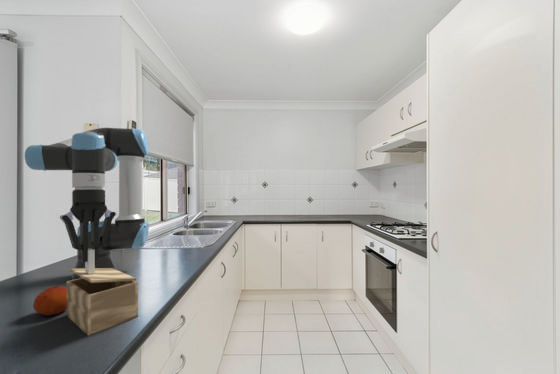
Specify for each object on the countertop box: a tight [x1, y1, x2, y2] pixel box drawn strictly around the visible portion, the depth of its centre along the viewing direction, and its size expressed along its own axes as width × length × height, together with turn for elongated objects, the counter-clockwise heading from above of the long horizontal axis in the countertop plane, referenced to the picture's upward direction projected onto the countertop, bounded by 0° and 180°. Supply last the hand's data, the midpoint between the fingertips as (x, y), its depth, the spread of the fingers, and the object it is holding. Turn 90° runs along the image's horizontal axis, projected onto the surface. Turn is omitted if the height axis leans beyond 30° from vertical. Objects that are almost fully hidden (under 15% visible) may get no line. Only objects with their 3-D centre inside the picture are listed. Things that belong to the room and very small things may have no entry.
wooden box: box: [66, 278, 139, 337], centre depth 76 cm, size 18×12×10 cm, turn 53°
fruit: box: [33, 285, 67, 316], centre depth 79 cm, size 9×9×8 cm
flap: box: [70, 268, 137, 283], centre depth 76 cm, size 17×11×1 cm, turn 53°
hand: (90, 272), depth 74 cm, fingers closed
